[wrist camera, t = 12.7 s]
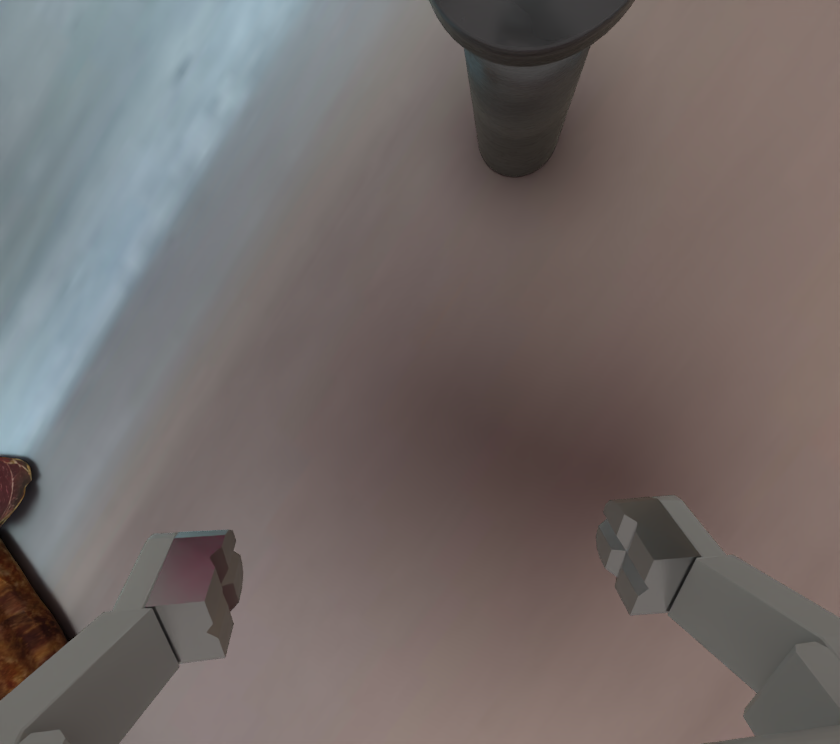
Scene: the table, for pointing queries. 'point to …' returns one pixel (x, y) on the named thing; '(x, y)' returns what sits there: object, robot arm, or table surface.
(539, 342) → the table surface
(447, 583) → the table surface
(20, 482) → the cured meat
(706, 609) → the robot arm
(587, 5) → the hook
